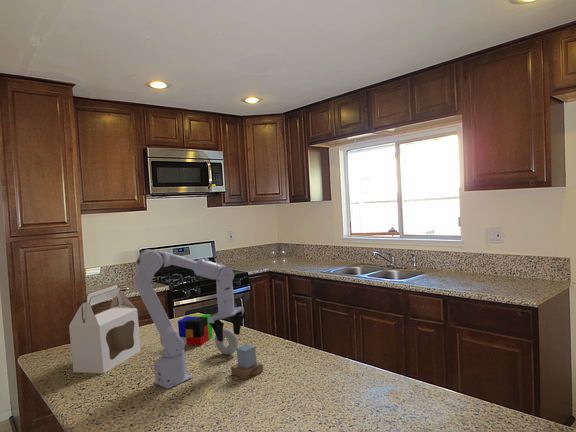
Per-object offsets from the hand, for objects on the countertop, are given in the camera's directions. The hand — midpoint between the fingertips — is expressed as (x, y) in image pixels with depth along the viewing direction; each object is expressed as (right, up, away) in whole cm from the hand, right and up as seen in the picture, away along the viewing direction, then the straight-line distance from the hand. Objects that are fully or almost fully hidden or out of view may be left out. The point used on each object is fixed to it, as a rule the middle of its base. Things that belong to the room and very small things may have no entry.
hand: (228, 337), depth 142 cm
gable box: (-48, -13, +13) cm, 52 cm away
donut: (-2, -10, +11) cm, 15 cm away
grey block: (+7, -7, -7) cm, 12 cm away
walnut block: (+7, -10, -7) cm, 14 cm away
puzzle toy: (-18, -10, +29) cm, 36 cm away
